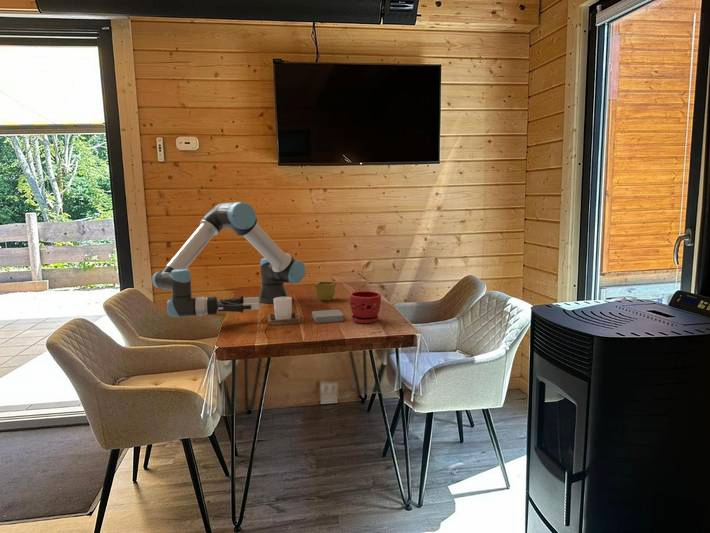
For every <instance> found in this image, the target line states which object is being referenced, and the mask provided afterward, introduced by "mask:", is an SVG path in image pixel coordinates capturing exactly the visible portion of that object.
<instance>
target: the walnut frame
mask: <svg viewBox="0 0 710 533" xmlns="http://www.w3.org/2000/svg"><path fill="white" fill-rule="evenodd" d="M267 322H268V326H269V327H270V326H285V325H295V324H296V325H297V324H301V318H300V315H299V313H298V312H295V311H294V312H293V311H292V314H291V319H282V320H275V313H267Z"/></svg>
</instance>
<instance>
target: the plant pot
mask: <svg viewBox="0 0 710 533" xmlns="http://www.w3.org/2000/svg"><path fill="white" fill-rule="evenodd" d="M381 296H382V295H381V293H380V292H376V291H372V290H371V291H370V290H365V291H361V290H360V291H359V290H358V291H354V292H351V293H350V294H349V306H350V310H351V313H352V315H351V316H350V319H351V321H353V322H355V323H357V324H358V323H359V324H371V323H375V322H377V321H378V320H379V315H378V314H379V312H380V309H381V300H382V297H381Z"/></svg>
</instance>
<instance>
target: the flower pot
mask: <svg viewBox="0 0 710 533" xmlns="http://www.w3.org/2000/svg"><path fill="white" fill-rule="evenodd" d="M336 286H337V282H336V281H319V282H316V283H315V290H316V295H317V297H318V298H319V300H320V301H331V300H332V299H333V298H334V297H335V293H336Z"/></svg>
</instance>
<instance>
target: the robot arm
mask: <svg viewBox="0 0 710 533" xmlns="http://www.w3.org/2000/svg"><path fill="white" fill-rule="evenodd" d="M223 229H230V230H232V231H233V232H234V233H235V234H236V235H237V237H238V236H239V237H243V238H245V240H246V241H248V242H249V244H250V245H251V246H252V247H253V248H254V249H255V250H257V251H258V253H259V254H260V255H261V256H262V258H261V259H260V265H259V267H260V280H261V282H260V283H261V287H260V291H259V295H258V296H256V297H253V296H251V297H244V296H243V295H241V296H239V297H233V298H226V299H225V298H224V299H219V300H218V297H217V296H208V297H206V296H198V297H193V296H192V276H191V271H190V270H189V269H188V267H189V266H190V265H191V264H193V261H195V260H196V258H197V257H198V255H199V254H200V253H201V251H202V250H203V249H204V248H205V246H207V244H208V243H209V242H210V240H212V238H213V237H214V236H217V235H218V234H219V233H220V232H221V231H223ZM305 275H306V265H305V264H304V262H303V261H302V260H299V259H298V260H297V259H295V258H294V257H293V256H292V255H291V253H289V252H287V253H286V252H284V251H283V250H282V249H281V247H279V245H278V244H277V243H276V242H275V241H274V240H273V239H272V238H271V237H270V236H269V234H267V233H266V231H265V230H264V229H263V228H262V227H261V226H260V225H259V224H258V218H257V215H256V211H255V209H254V207H253V206H252V205H250V204H249V203H247V202H243V201H234V202H232V201H231V202H221V203H218V204H216V205H214V206H213V207H212V208H210V209H209V211H208V212H206V214H205V215H204V216H203V217H202V218H201V219H200V221H199V226H198V227H197V228H196V229H195V230H194V231H193V232H192V234H191V235H190V236H189V237H188V238H187V240H186V241H185V242H184V243H183V245H182V246H181V248H179V250H178V251H177V252H176V253H175V254H174V256H173V257H172V258H171V259H170V261H169V262H168V263H167V264H166V265H165V267H164V268H162V270H159V271H156V272H155V273H153V274H152V276H151V282H152V285H153V286H154V287H155V288H157V289H159V290H165V291H166V290H167V291H170V292H171V296H172V297H171V298H169V299H168V300H167V303H166V312H167V315H168V316H169V317H173V318H174V317H179V318H181V317H193V316H195V317H196V316H197V317H198V316H199V317H202V316H207V315H208V316H212V315H218V312H219V313H220V312H232V313H244V311H258V310H260V303H263V304H274V301H273V299H274V298H276V297H289V296H288V292H287V290H286V286H285V283H286V284H291V285H292V284H293V285H296V284H299V283H301V282H302V281H303V279H304V278H305Z"/></svg>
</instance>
